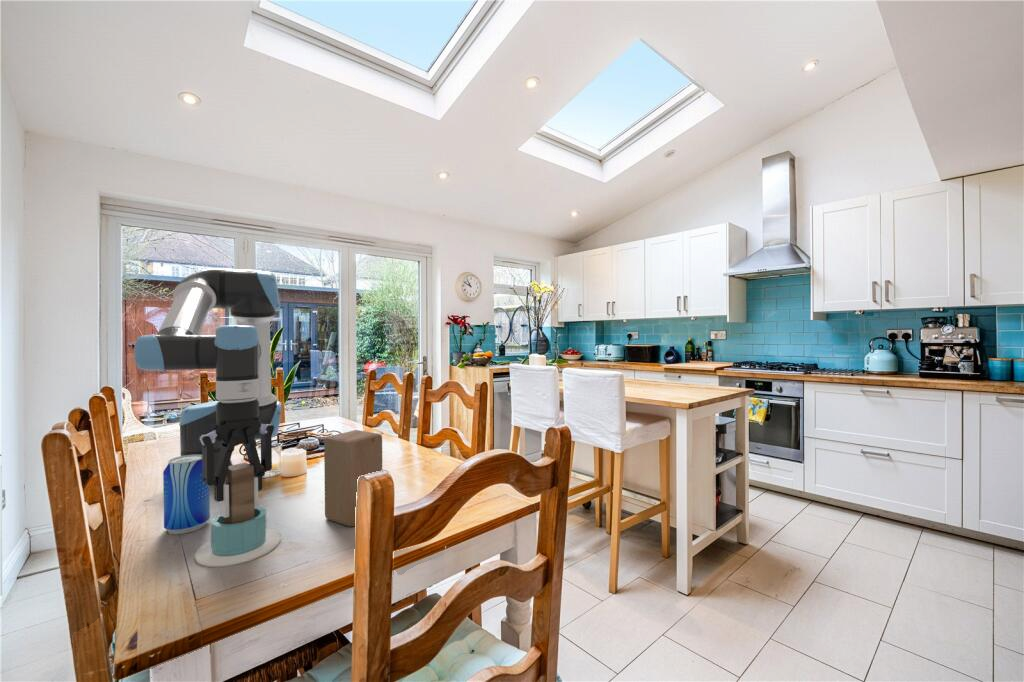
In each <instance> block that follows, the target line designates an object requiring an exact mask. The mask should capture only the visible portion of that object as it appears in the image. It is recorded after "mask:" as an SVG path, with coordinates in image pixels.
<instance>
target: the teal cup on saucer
mask: <svg viewBox="0 0 1024 682" xmlns="http://www.w3.org/2000/svg"><path fill="white" fill-rule="evenodd" d="M280 543H281V534H280V532H279V531H277V530H276V529H271V528H267V509H265V508H263V507H262V506H258V508H255V509H254V519H251V520H248V521H245V522H242V523H236V524H225V518H224V517H223V516H221V515H220V514H217V515H216V516H214V517H213V518H212V519H211V521H210V541H207V542H206V543H204V544H203V545H201V546H200V547H199V548H198V549H197V551H196V552H195V554H194V560H195V562H196V563H197V564H198V565H200V566H203V567H206V568H207V567H208V568H222V567H231V566H236V565H240V564H245V563H247V562H250V561H254V560H257V559H258V558H261V557H262V556H265V555H267V554H269V553H270V552H272V551H273V550H274V549H275V548H277V546H279V544H280Z"/></svg>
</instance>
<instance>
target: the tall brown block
mask: <svg viewBox="0 0 1024 682" xmlns="http://www.w3.org/2000/svg"><path fill="white" fill-rule="evenodd" d="M225 483H226V484H228V485H229V517H227V518H225V524H236V523H242V522H245V521H248V520H251V519H254V466H253V465H251V464H250V463H249V462H240V463H236V464H233V465H231V466H229V467H228V471H227V475H226V479H225Z"/></svg>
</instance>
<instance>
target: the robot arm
mask: <svg viewBox="0 0 1024 682" xmlns="http://www.w3.org/2000/svg"><path fill="white" fill-rule="evenodd" d="M177 283H178V284H176V287H175V288H174V289H173V293H172V299H173V302H172V304H171V306H170V308H169V309H168V312H167V313H166V316H165V317H164V320H163V322H162V323H161V325H160V327H159V329H158V331H157V334H154V333H153V334H152V333H151V334H145V335H140V336H138V337H137V339H136V340H135V343H134V346H133V347H134V349H133V355H134V362H135V365H136V367H137V368H138V369H139V370H142V371H156V372H157V371H158V372H164V371H184V370H189V371H190V370H212V369H213V370H215V399H216V400H215V401H207V402H203V403H198V404H193V405H190V406H187V407H185V408H184V409H182V411H181V412H180V415H179V416H180V417H179V418H180V419H179V423H178V425H179V434H180V435H179V438H180V439H179V442H180V443H179V444H180V447H179V448H180V449H179V450H180V456H185V455H202V481H203V483H205V484H207V485H209V487H210V486H213V499H214V500H215V501H216V502H217V503H219V515H221V516H223V517H224V518H227V517H229V485H228V484H226V483H225V479H226V475H227V471H228V467H229V466H231V465H234V464H233V462H232V455H233V452H234V450H235V447H237V446H238V445H243V448H244V449H245V452H246V456H247V460H248V464H251V465H253V466H254V509H255V508H258V507H259V491H261V490H263V477H264V476H265V474H266V472H269V471H271V470H272V468H273V455H272V453H273V450H272V449H273V448H272V447H273V446H272V445H273V444H272V442H273V441H272V439H273V438H275V437H276V436H277V435H278V433H279V429H280V422H281V417H282V416H281V414H282V402H281V401H277V399H278V398H277V396H276V395H275V394H273V393H272V373H271V371H272V368H271V366H272V365H271V362H272V361H271V320H273V318H274V317H276V311H280V310H281V302H280V294H279V289H278V283H277V278H276V275H275V274H274V273H273V272H271V271H264V270H258V269H257V270H256V269H238V268H237V269H234V268H216V267H215V268H214V267H213V268H207V269H202V270H199V271H197V272H194V273H191V274H190V275H188V276H186V277H185V278H183V279H181V280H180V282H177ZM213 309H227V310H228V309H229V310H230V316H231V317H232V318H234V319H235V320H236V325H219V326H218V327H216V328H215V334H202V330H203V327H204V325H205V322H206V319H207V315H208V313H209V312H210V311H211V310H213ZM257 440H258V441H259V440H260V456H259V452H258V450H257V444H256V441H257Z"/></svg>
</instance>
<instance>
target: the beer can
mask: <svg viewBox="0 0 1024 682" xmlns="http://www.w3.org/2000/svg"><path fill="white" fill-rule="evenodd" d="M162 474H163V476H162V477H163V481H162V483H163V489H162V491H163V528H164V529H165V530H166V531H167V532H168V534H171V535H182V534H183V535H184V534H188V533H192V532H195V531H197V530H198V531H199V530H201V529H202V528H204V527H206V525H207V523H208V522H209V520H210V519H211V518H210V517H211V514H210V513H211V508H210V507H211V506H210V502H211V501H210V498H211V497H210V496H211V495H210V491H211V490H210V489H211V488H210V486H209V485H207V484H205V483H203V481H202V455H185V456H181V455H180V456H176V457H173V458H170V459H169V460H168V462H167V465H166V467H165V468H164V469H163V472H162Z"/></svg>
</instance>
